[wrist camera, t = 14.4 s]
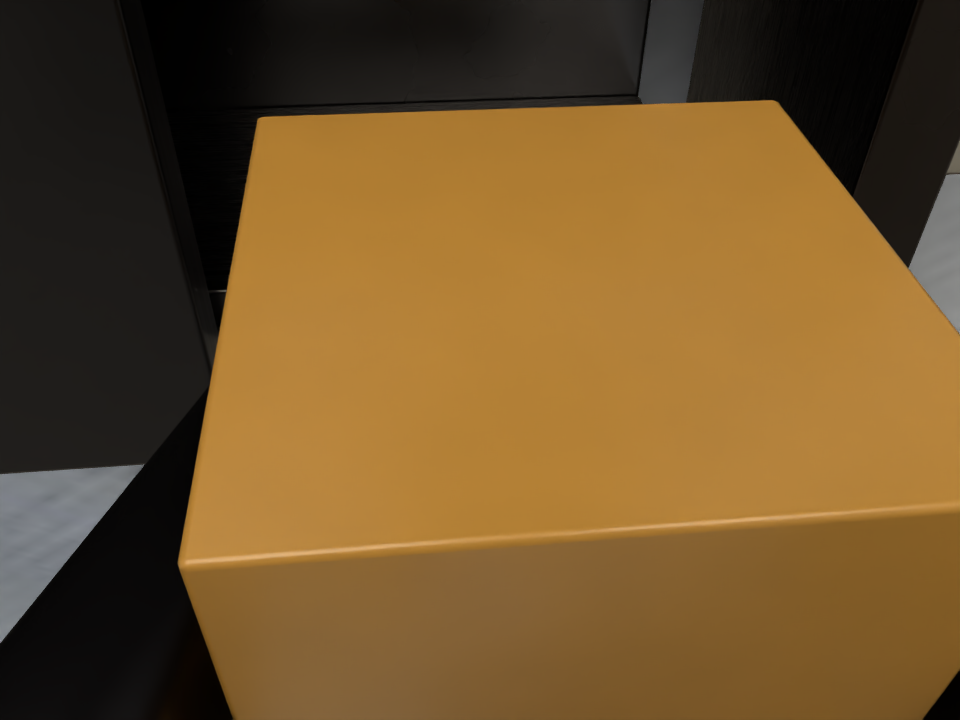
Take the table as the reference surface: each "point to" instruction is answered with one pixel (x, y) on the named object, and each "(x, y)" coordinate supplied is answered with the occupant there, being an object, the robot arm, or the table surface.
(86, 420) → the drawer cabinet
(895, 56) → the black drawer
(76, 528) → the table surface
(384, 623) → the brass block
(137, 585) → the robot arm
